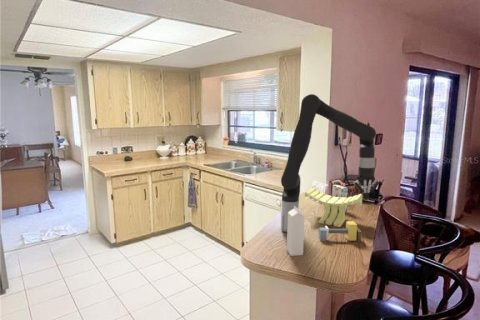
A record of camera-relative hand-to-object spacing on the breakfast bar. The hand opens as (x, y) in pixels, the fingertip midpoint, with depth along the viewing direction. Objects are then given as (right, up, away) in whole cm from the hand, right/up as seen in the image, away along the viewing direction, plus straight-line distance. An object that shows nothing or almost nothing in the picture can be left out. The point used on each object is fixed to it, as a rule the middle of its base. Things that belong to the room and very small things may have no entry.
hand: (365, 199), depth 154 cm
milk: (-38, -23, -12) cm, 47 cm away
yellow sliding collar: (-7, -21, +2) cm, 22 cm away
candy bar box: (+3, -14, +50) cm, 52 cm away
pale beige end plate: (-19, -19, +2) cm, 27 cm away
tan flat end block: (-3, -21, +2) cm, 21 cm away
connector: (-21, -21, +3) cm, 30 cm away
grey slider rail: (-12, -17, +2) cm, 21 cm away
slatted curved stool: (-8, -17, +30) cm, 35 cm away
